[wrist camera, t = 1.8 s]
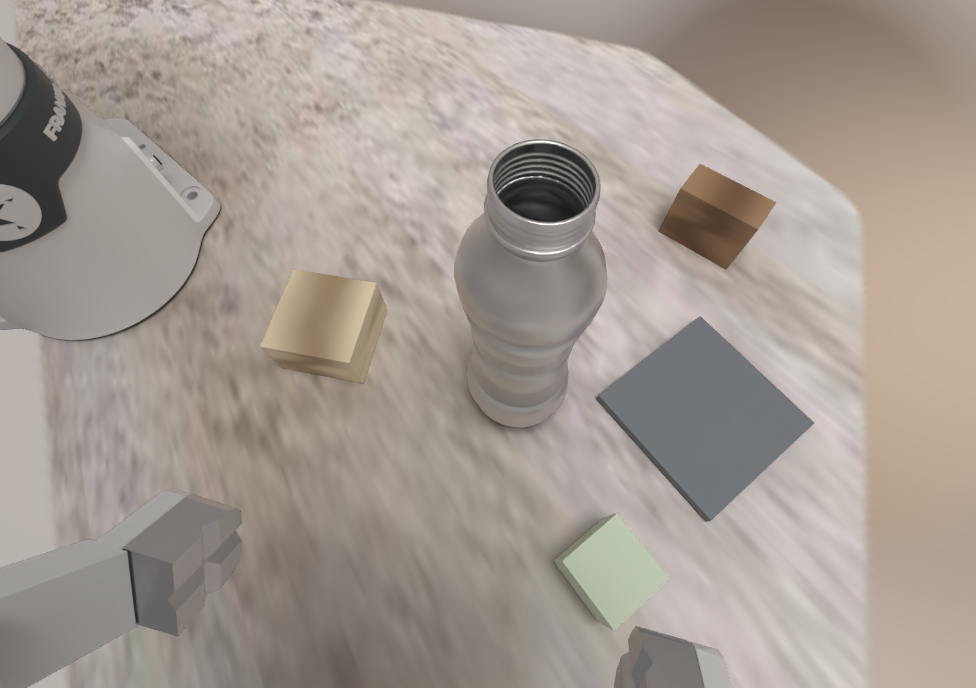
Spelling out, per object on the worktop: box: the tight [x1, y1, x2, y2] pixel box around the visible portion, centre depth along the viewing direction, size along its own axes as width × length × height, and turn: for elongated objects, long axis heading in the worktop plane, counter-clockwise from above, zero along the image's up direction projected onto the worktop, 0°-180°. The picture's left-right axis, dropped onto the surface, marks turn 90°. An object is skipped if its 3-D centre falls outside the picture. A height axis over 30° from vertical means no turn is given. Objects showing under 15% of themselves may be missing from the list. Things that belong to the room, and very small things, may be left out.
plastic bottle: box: [454, 139, 607, 428], centre depth 24 cm, size 6×7×20 cm
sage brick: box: [554, 513, 670, 631], centre depth 27 cm, size 4×4×4 cm
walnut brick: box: [659, 164, 776, 269], centre depth 37 cm, size 6×3×5 cm, turn 52°
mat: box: [597, 316, 814, 521], centre depth 32 cm, size 10×10×1 cm
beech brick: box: [260, 269, 387, 384], centre depth 34 cm, size 6×6×4 cm
